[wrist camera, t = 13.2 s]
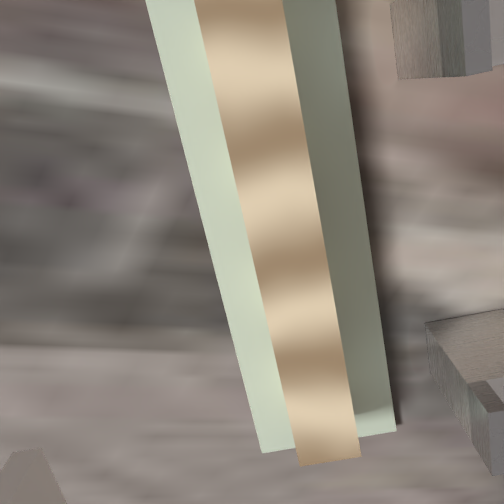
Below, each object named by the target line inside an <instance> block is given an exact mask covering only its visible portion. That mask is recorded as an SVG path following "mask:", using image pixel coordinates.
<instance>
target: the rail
mask: <svg viewBox="0 0 504 504" xmlns="http://www.w3.org/2000/svg"><path fill="white" fill-rule="evenodd" d="M194 3H195V7H196V12H197V16H198V20H199V25H200V29H201V34H202V38H203V42H204V47H205V51H206V56H207V60H208V64H209V69H210V73H211V78H212V82H213V86H214V91H215V95H216V100H217V104H218V108H219V113H220V117H221V122H222V126H223V130H224V135H225V139H226V144H227V148H228V152H229V157H230V161H231V166H232V170H233V174H234V179H235V183H236V187H237V192H238V196H239V201H240V205H241V209H242V214H243V218H244V223H245V227H246V231H247V236H248V240H249V245H250V249H251V253H252V258H253V262H254V267H255V271H256V275H257V280H258V284H259V289H260V293H261V297H262V302H263V306H264V311H265V315H266V319H267V324H268V328H269V333H270V337H271V341H272V346H273V350H274V355H275V359H276V363H277V368H278V372H279V377H280V381H281V385H282V390H283V394H284V399H285V403H286V407H287V412H288V416H289V420H290V425H291V429H292V434H293V438H294V442H295V447H296V451H297V456H298V460H299V464H300V466H306V465H312V464H319V463H325V462H331V461H337V460H343V459H350V458H356V457H361V451H360V445H359V440H358V434H357V428H356V422H355V417H354V411H353V405H352V399H351V394H350V388H349V382H348V376H347V371H346V365H345V359H344V353H343V348H342V342H341V336H340V330H339V325H338V319H337V313H336V307H335V302H334V296H333V290H332V284H331V279H330V273H329V267H328V261H327V256H326V250H325V244H324V238H323V233H322V227H321V221H320V215H319V210H318V204H317V198H316V192H315V187H314V181H313V175H312V169H311V164H310V158H309V152H308V146H307V141H306V135H305V129H304V123H303V117H302V112H301V106H300V100H299V94H298V89H297V83H296V77H295V71H294V66H293V60H292V54H291V48H290V43H289V37H288V31H287V25H286V20H285V14H284V8H283V2H282V0H194Z"/></svg>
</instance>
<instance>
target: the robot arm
mask: <svg viewBox="0 0 504 504" xmlns="http://www.w3.org/2000/svg"><path fill="white" fill-rule="evenodd" d="M0 504H67V503H66V500H65V498H64V496H63V494H62V492H61V490H60V487H59V485H58V483H57V481H56V479H55V477H54V474H53V472H52V470H51V468H50V466H49V463H48V461H47V459H46V457H45V455H44V453H43V450H42V448H41V447H40V448H35V449H29V450H24V451H18V452H13V453H12V455H11V456H10V458H9V459H8V461H7V462H6V464H5V465H4V467H3V469H2V470H1V472H0Z"/></svg>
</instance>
